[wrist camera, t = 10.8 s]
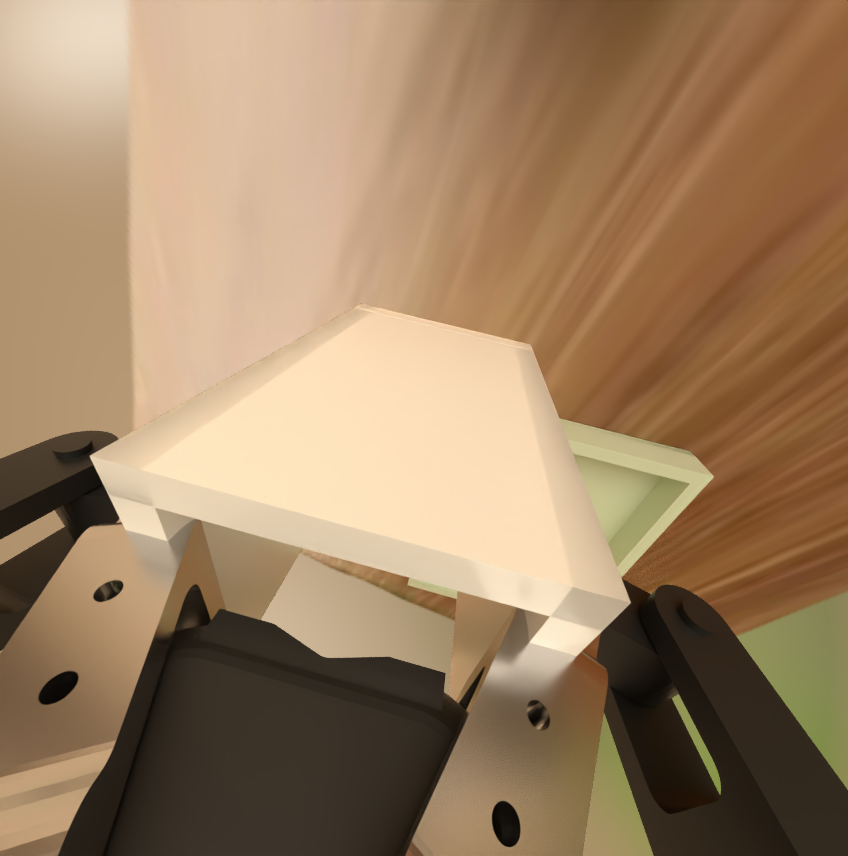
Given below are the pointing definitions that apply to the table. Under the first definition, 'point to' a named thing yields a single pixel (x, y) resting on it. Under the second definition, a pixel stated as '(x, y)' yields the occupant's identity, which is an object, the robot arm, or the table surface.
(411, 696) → the robot arm
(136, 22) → the table surface
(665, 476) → the tray
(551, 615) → the mini side table
